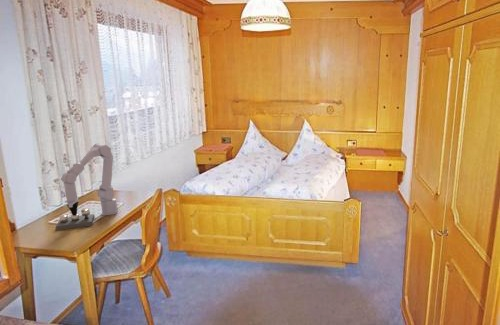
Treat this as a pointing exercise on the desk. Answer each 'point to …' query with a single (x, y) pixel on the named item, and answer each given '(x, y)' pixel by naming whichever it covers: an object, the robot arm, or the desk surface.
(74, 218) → the knob mid
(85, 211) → the knob
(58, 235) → the desk surface
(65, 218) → the knob
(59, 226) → the knob panel
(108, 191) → the robot arm
